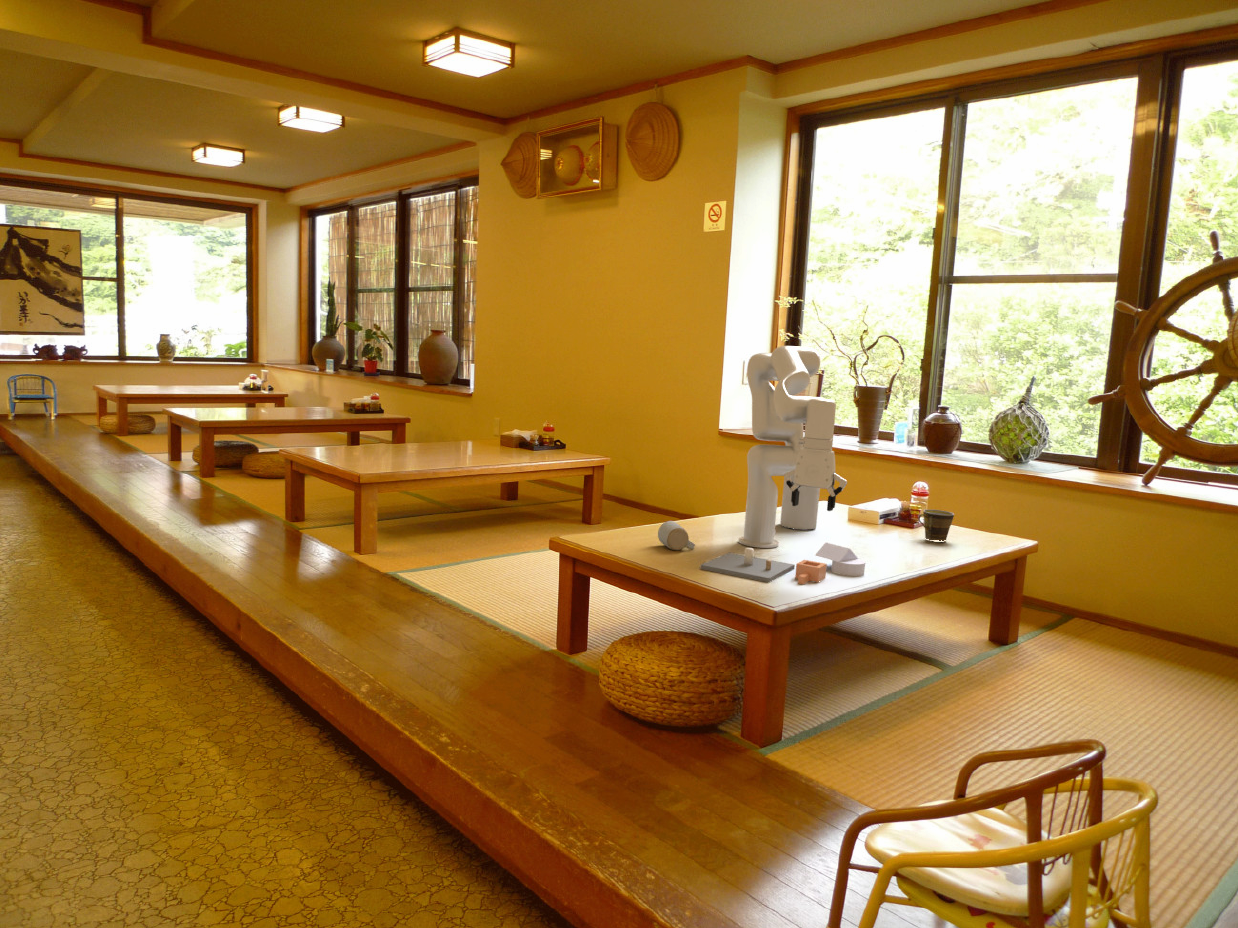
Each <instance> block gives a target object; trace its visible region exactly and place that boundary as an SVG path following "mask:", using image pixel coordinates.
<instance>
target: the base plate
mask: <svg viewBox="0 0 1238 928" xmlns="http://www.w3.org/2000/svg"><path fill="white" fill-rule="evenodd" d="M744 549H745V550H744V554H740V553H735V552H727V553H725V554H723V555H720V556H718V557H715V558H713V559H710V560H709V561H706V562H704V563H700V567H699V568H700V570H704V571H708V572H709V571H710V572H714V573H719V574H725V575H728V576H734V577H740V578H743V579H749V580H754V581H758V580H760V581H759V582H763V581H765V582H764V583H768V582H769V583H771V582H773V581H775V580H776V579H778V578H780V577H782V576H785V574H788V573H789V572H791V571H793V570H794V569H795V568H796V566H795V565H796V564H793V563H788V562H782V561H779V560H778V561H777V560H772V559H770V560H771V570H766V560H768V559H766V558H762V557H761V558H760V557H756V556H754V552H755V549H754V547H753V548H752V547H745V548H744ZM772 580H773V581H772ZM770 581H771V582H770Z"/></svg>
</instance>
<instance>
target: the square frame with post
mask: <svg viewBox="0 0 1238 928" xmlns="http://www.w3.org/2000/svg"><path fill="white" fill-rule="evenodd" d="M795 565H796V566H795V575H794V578H795V579H796V580H798V581H797V584H798V585H799V584H800V585H805V584H807V583H808V582H812V581H815V582H814V583H817V582H818V583H820V582H822V581H823V580H825V579H826V577H827V575H826V574H827V567H828V565H827V563H825V562H819V561H813V560H808V559H803V560H800V561H799V562H797V563H796V564H795ZM821 580H822V581H821ZM819 581H820V582H819ZM806 582H807V583H806Z"/></svg>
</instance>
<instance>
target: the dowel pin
mask: <svg viewBox="0 0 1238 928" xmlns="http://www.w3.org/2000/svg"><path fill="white" fill-rule="evenodd" d="M771 560H772V559H767V560H766V570H771Z"/></svg>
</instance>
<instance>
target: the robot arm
mask: <svg viewBox="0 0 1238 928" xmlns="http://www.w3.org/2000/svg"><path fill="white" fill-rule="evenodd" d="M820 366H821V357H820V354H819V352H818V351H817V350H816V349H814V348H813V347H811V346H799V345H798V346H795V345H781V346H778V347H776V348H775V349H774V350H773V351H772V352H761V353H755V354H753V355H752V356H750V358H749V359H748V362H747V368H746V377H747V381H748V386H749V390H750V394H751V431H752V435H753V437H754V438H755V439H756V440H760V441H767V442H784V444H785V445H779V444H778V445H777V444H756V445H754V446H752V447H750V449H748V452H747V456H746V463H747V491H746V492H747V493H746V503H745V504H746V505H745V517H744V526H743V528H744V529H743V536H740V537H738V541H737V542H738V543H740V544H741V545H743V546H747V547H750V548H752V547H753V548H758V549H759V548H760V549H774V548H776V547H778V546H779V543H780V542H779V541H778V540H776V539H775V534H776V533H777V530H776V529H775V528H776V519H777V508H778V507H777V506H778V499H779V498H778V496H779V490H778V486H777V484H776V483H775V481H774V480H773V478H772V477H773V476H774V477H776V476H778V477H780V476H782V477H784V478H785V480H786V484H787V485H788V486H789V488H790V490H791V491H792V496H791V502H792V506H797V505H798V504H799V493H800V492H799V491H798V489H799V488H800V487H801V486H806V487H813V488H820V490H821V489H823V490H824V489H826V490H827V492H828V493H829V495H828V497H827V505H826V507H827V508H826V510H827V511H828V512H831V511H833V510H834V509H835V508H836V502H837V501H836V500H837V496H838V495H839V494H840V493H841V492H843V491H844V489H845V488H846V486H847V484H848V480H847V479H845V478H844V477H842V476H840V475H839V474H837V473H836V457H835V456H836V455H835V451H833V445H834V444H833V442H834V432H835V431H834V430H835V420H836V410H837V405H836V402H835V400H833V399H829V398H825V397H820V396H810V395H809V396H807V395H800V394H801V393H802V392H804V391H805V390H806V389H807V388H808V387H809V385H810V383H811V378H812V377H813V376H815V375H816V374H817V373H818V372H819V371H820ZM770 381H774V382H778V383H777V384H776V386H774V385H773V384H772V383H771V382H770ZM798 394H799V395H798ZM804 424H805V425H804ZM791 476H794V482H795V484H794V483H793V482H792V480H791ZM836 481H837V483H839V485H838V487H837V488H836V487H835V482H836Z"/></svg>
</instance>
